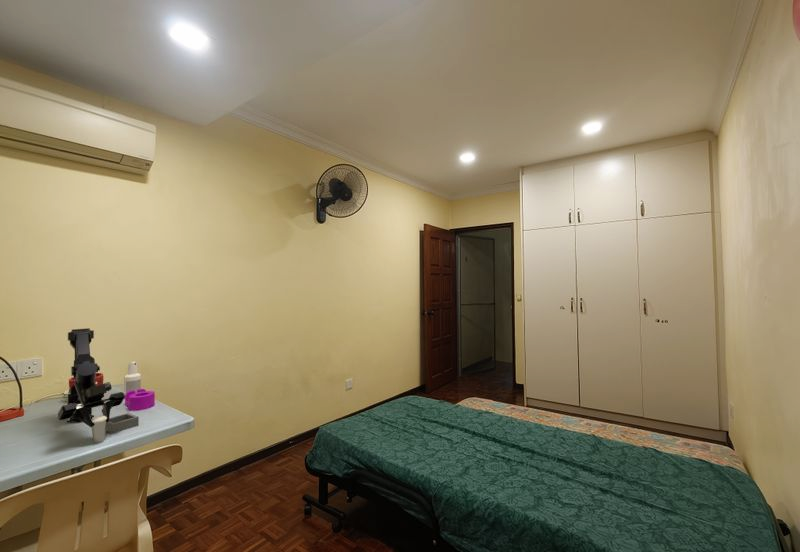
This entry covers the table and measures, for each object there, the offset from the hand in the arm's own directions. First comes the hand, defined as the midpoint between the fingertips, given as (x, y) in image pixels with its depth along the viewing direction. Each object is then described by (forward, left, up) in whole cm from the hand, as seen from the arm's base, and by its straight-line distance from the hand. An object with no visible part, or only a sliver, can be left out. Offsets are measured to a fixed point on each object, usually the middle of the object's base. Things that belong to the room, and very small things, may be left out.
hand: (100, 424), depth 129 cm
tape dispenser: (-13, +39, -7) cm, 42 cm away
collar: (-3, +14, -7) cm, 15 cm away
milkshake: (-1, +1, -7) cm, 7 cm away
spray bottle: (-27, +52, -7) cm, 59 cm away
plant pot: (-48, +49, -7) cm, 69 cm away
